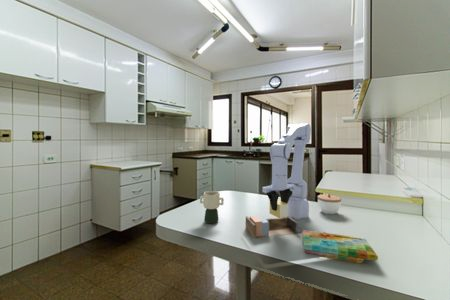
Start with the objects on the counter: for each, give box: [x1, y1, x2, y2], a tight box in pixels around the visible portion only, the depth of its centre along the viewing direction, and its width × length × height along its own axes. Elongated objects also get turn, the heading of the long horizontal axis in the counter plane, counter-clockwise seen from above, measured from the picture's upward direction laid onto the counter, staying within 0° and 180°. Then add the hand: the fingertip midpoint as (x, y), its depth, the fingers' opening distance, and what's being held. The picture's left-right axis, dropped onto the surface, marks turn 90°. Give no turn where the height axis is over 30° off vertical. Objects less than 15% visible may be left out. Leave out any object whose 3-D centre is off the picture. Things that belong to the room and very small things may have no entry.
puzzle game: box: [301, 229, 379, 264], centre depth 71 cm, size 12×5×20 cm
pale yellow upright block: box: [269, 199, 288, 218], centre depth 85 cm, size 4×6×5 cm, turn 25°
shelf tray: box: [245, 216, 302, 239], centre depth 85 cm, size 21×9×6 cm, turn 103°
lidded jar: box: [317, 193, 342, 215], centre depth 109 cm, size 11×11×9 cm
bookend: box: [287, 217, 303, 233], centre depth 87 cm, size 4×6×4 cm, turn 13°
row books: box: [249, 215, 269, 237], centre depth 83 cm, size 5×6×6 cm
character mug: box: [199, 190, 225, 224], centre depth 95 cm, size 11×7×13 cm, turn 75°
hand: (278, 209), depth 85 cm, fingers closed on pale yellow upright block, 4 cm apart
